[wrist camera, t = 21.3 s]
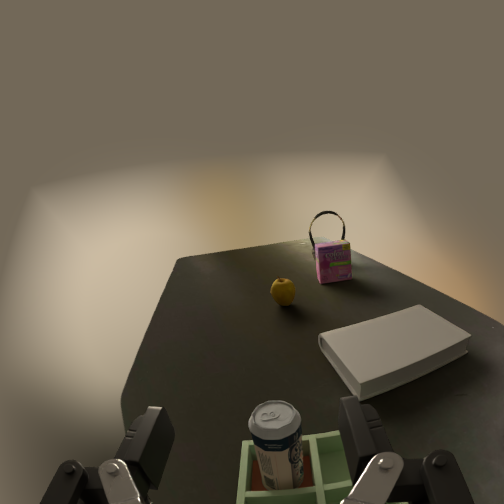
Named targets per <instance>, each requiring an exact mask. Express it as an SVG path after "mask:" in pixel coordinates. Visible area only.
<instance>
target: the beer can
mask: <svg viewBox="0 0 504 504" xmlns="http://www.w3.org/2000/svg"><path fill="white" fill-rule="evenodd" d="M248 424H249V429H250V431H251V434H252V438H253V443H254V447H255V451H256V456H257V460H258V464H259V468H260V472H261V476H262V483H263V485H264V487H265V488H266V489H267V490H269V491H272V490H285V489H296V488H298V487H299V486H300V485H301V483H302V482H303V479H304V468H303V448H302V430H301V418H300V414H299V413H298V411H297V410H296V409H295V408H294V407H293V406H292V405H291V404H289V403H286V402H284V401H268V402H265V403H263V404H261V405H258V406H257V407H256V409H255V410H254V411H253V413H252V415H251V417H250V419H249V422H248Z"/></svg>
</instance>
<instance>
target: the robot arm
mask: <svg viewBox="0 0 504 504" xmlns="http://www.w3.org/2000/svg"><path fill="white" fill-rule="evenodd" d="M338 425H339V432H340V436H341V440H342V444H343V448H344V452H345V456H346V460H347V465H348V469H349V473H350V477H351V482H352V486H354V488H353V490H352V491H351V493H350V494H349V495H348V496H347V497H345V498H344V499H343V500H342V501H341V503H340V504H386V503H398V502H408V504H474V501H473V499H472V496H471V494H470V492H469V489H468V487H467V484H466V482H465V480H464V477H463V475H462V473H461V470H460V468H459V466H458V464H457V462H456V459H455V457H454V456H453V454H452V453H450V452H449V451H446V450H435V451H432V452H431V453H429V454H428V455H427V456H426V457H425V458H424V459H405V458H402V457H400V456H399V455H398V454H396V453H395V452H394V451H393V449H392V447H391V444H390V442H389V439H388V437H387V434H386V432H385V429H384V427H383V425H382V422H381V420H380V417H379V415H378V413H377V410H376V409H375V408H373V407H372V406H371V405H370V404H365V405H361V404H360V402H359V399H358V397H357V395H354V396H349V397H343V398H340V405H339V419H338ZM128 430H129V431H127V433H126V435H125V436H126V437H124V439H123V441H122V443H121V445H120V447H119V449H118V451H117V453H116V455H115V457H114V459H110V460H107V461H105V462H103V464H102V465H101V466H100V467H86V468H84V467H83V466H82V464H81V463H80V462H78V461H76V460H68V461H65V462H64V463H62V464H61V465H60V466H59V468H58V470H57V472H56V474H55V476H54V477H53V479H52V481H51V483H50V485H49V487H48V489H47V491H46V493H45V495H44V496H43V498H42V500H41V502H40V504H153V503H152V502H151V500H150V498H149V496H148V494H147V493H148V490H149V489H154V490H158V487H159V484H160V481H161V478H162V474H163V471H164V468H165V465H166V462H167V459H168V456H169V453H170V450H171V447H172V444H173V441H174V437H175V433H174V428H173V426H172V423H171V421H170V418H169V416H168V413H167V411H166V409H165V408H164V407H148V408H147V410H146V412H145V414H144V416H138V417H137V418H136V419H135V420H134V421H133V422H132V424H131V426H130V427H129V429H128Z"/></svg>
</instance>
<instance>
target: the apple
mask: <svg viewBox="0 0 504 504" xmlns="http://www.w3.org/2000/svg"><path fill="white" fill-rule="evenodd" d="M278 278H279V277H278ZM271 295H272V297H273V298H274V300H275V301H276V302H277V303H278V304H279V305H281V306H289V305H290V304H291V303H292V301H293V299H294V296H295V287H294V284H293V283H292V282H291V281H290V280H288V279H280V278H279V279H277V280H275V282H274V283H273V285H272V287H271Z"/></svg>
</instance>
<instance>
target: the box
mask: <svg viewBox="0 0 504 504" xmlns="http://www.w3.org/2000/svg"><path fill="white" fill-rule="evenodd" d="M315 254H316V266H317V278H318V280H319V282H320V284H324V283H330V282H337V281H343V280H349V279H352V268H351V251H350V243H349V242H348V241H346V240H340V241H332V242H325V243H317V244H315Z"/></svg>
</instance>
